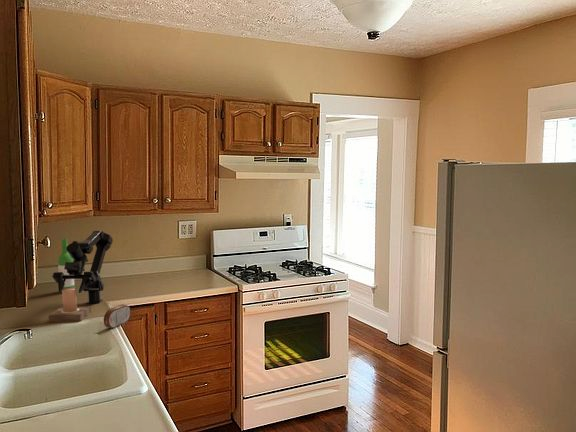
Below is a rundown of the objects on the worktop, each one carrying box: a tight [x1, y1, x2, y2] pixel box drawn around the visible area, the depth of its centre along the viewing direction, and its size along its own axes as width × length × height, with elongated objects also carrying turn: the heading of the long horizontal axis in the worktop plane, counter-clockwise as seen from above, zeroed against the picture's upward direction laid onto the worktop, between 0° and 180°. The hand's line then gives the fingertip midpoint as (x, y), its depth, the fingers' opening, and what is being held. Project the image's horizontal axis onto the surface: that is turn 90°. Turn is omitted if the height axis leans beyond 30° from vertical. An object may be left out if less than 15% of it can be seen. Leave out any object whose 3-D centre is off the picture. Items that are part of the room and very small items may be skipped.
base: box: [47, 305, 92, 323], centre depth 232 cm, size 14×14×3 cm
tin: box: [103, 304, 132, 329], centre depth 219 cm, size 15×3×8 cm, turn 159°
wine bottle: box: [57, 238, 76, 289], centre depth 284 cm, size 8×8×30 cm
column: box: [61, 287, 78, 312], centre depth 232 cm, size 6×6×10 cm
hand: (69, 292), depth 232 cm, fingers open, 9 cm apart
